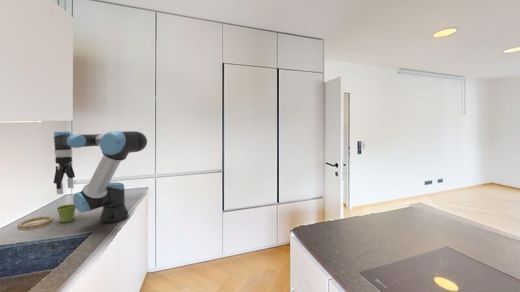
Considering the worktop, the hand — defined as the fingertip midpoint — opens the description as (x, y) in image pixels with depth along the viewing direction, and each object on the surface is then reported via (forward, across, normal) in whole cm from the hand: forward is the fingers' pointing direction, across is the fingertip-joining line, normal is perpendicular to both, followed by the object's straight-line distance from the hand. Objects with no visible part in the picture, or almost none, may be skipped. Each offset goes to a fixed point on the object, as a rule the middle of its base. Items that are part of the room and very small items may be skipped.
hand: (65, 190), depth 136 cm
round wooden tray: (+18, +2, -14) cm, 23 cm away
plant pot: (+19, 0, 0) cm, 19 cm away
